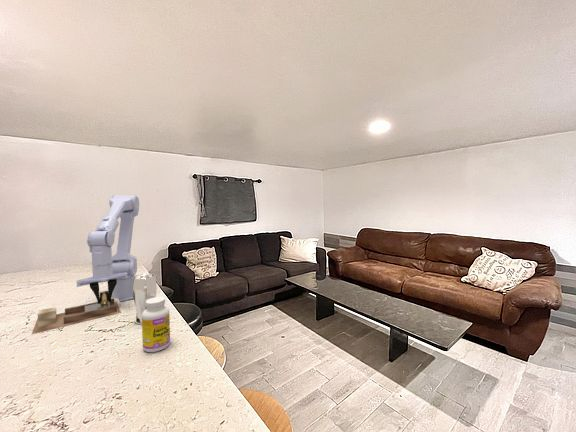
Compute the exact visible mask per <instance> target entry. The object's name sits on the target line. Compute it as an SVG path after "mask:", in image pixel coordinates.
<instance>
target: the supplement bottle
mask: <svg viewBox="0 0 576 432" xmlns="http://www.w3.org/2000/svg"><path fill="white" fill-rule="evenodd" d="M165 304H166V298H165V297H163V296H156V297H154V298H150V299H148V300H146V307H147V309H146V310H145V311H144V312H143V313H142V325H141V330H142V331H141V332H142V333H141V334H142V350H143V351H144V352H147V353H156V352H159V351H161V350H164V349H166V348H167V347H168V346H169V345H170V343H171V326H170V320H171V319H170V309H169V307H168V306H166V305H165Z"/></svg>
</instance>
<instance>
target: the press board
mask: <svg viewBox="0 0 576 432" xmlns="http://www.w3.org/2000/svg"><path fill="white" fill-rule="evenodd" d="M97 303H98V302H97V301H96V302H91V303H86V304H80V305H76V306H72V307H66V308H64V312H62V313H56V314H57V320H56V323H54V324H50V325H45V326H41V327H38V318H36V322H35V325H34V327H33V328H32V329H33V330H32V332H31V335H35V334H40V333H44V332H48V331H51V330H56V329H59V328H64V327H69V326H72V325H77V324H80V323H85V322H89V321H93V320H97V319H102V318H106V317H109V316H110V317H111V316H115V315H117V314H118V315H119V314H121V313H122V312H121V309H120V306H119V304H118V301H115V298H111V301H110V302H109V303H110V306H111V307H106V308H102V309H97V310H93V311H88V312H85V306H88V305H92V304H97Z"/></svg>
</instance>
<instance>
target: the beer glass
mask: <svg viewBox="0 0 576 432" xmlns="http://www.w3.org/2000/svg"><path fill="white" fill-rule="evenodd" d="M137 275H138V276H135V275H134V276H135V277H133V298H134V299H133V301H134V305H135V308H136V310H135V311H136V316H135V324H137V325H141V326H142V313H143V312H144V311H145V310H146V309H147V307H146V300H148V299H150V298H154V297H157V279H156V274H155V273H143V274H137Z"/></svg>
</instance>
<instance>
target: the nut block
mask: <svg viewBox="0 0 576 432" xmlns="http://www.w3.org/2000/svg"><path fill="white" fill-rule="evenodd" d="M57 314H58V313H57V307H56V306H55V307H50V308H45V309H41V310H40V309H39V310H38V312H37V319H38V327H41V326H45V325H50V324H54V323H56V320H57Z"/></svg>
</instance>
